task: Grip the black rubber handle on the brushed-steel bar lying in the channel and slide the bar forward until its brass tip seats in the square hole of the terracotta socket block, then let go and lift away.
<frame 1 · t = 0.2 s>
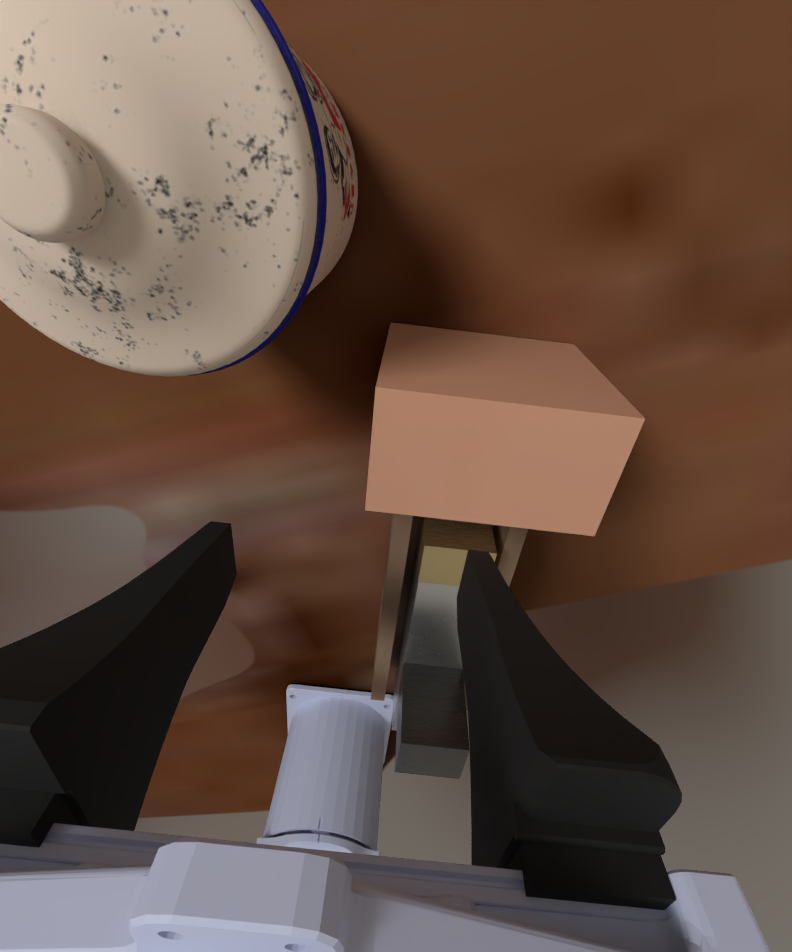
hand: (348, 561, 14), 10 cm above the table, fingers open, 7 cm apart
slide bar: (435, 664, 23), point 6 cm above the table, slide at 0.0 cm
teacup with lid: (217, 147, 17), on the table
socket block: (472, 382, 21), on the table
guide channel: (437, 557, 27), on the table
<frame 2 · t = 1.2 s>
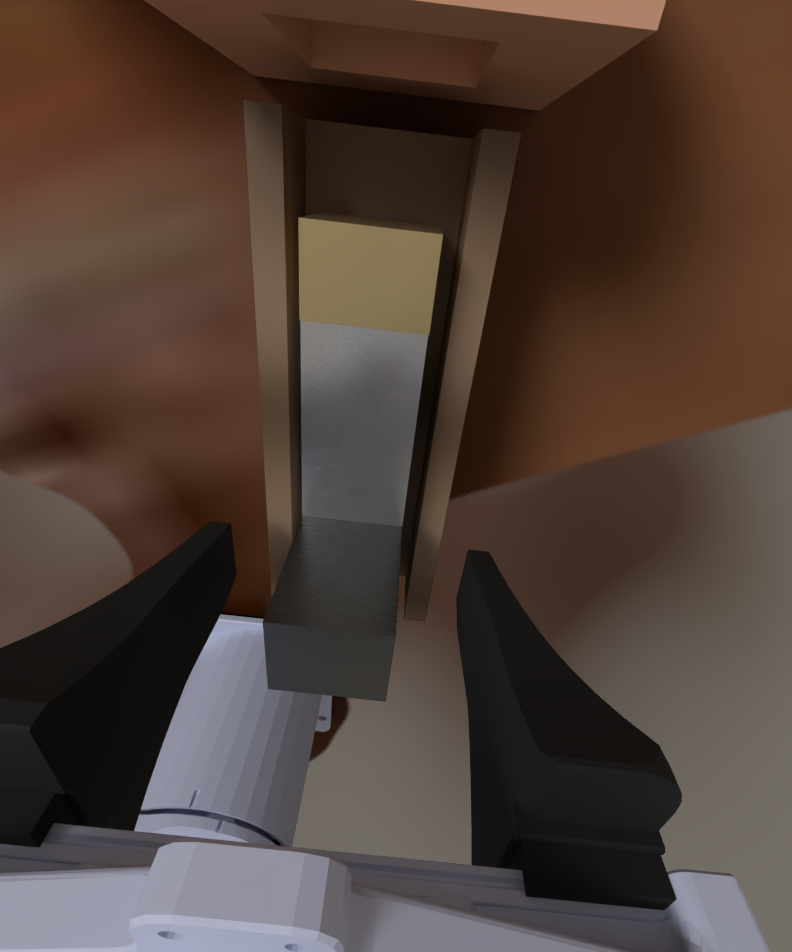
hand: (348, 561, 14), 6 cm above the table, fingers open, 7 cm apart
slide bar: (351, 509, 13), point 6 cm above the table, slide at 0.0 cm
guide channel: (374, 383, 17), on the table
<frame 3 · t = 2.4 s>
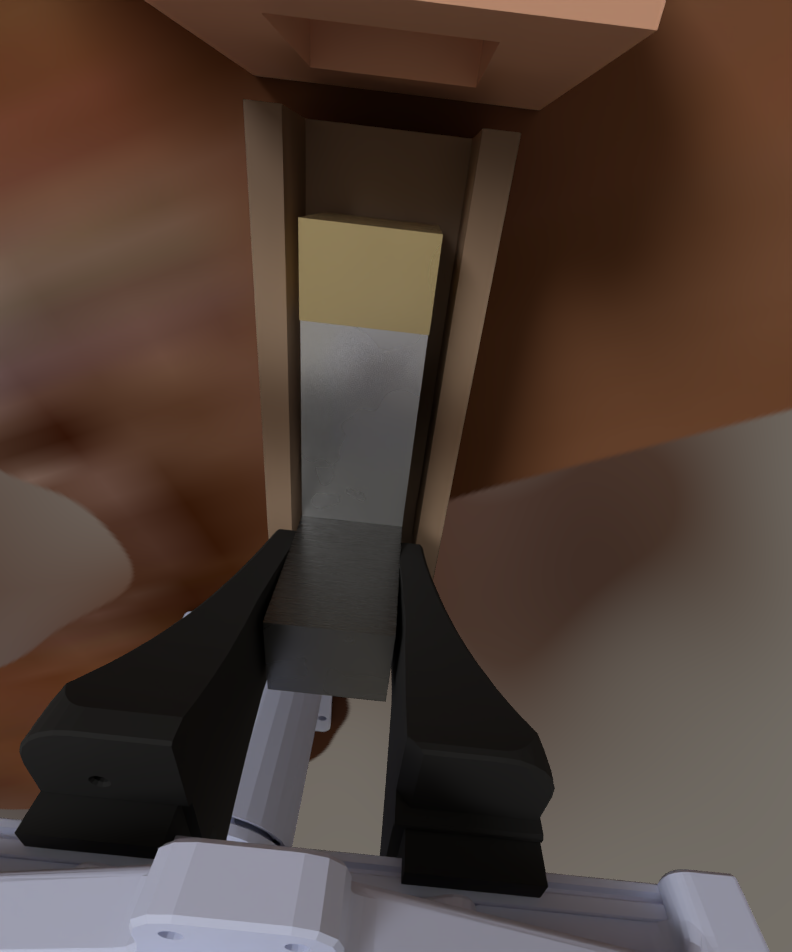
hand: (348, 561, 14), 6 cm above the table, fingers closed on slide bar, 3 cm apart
slide bar: (351, 509, 13), point 6 cm above the table, slide at 0.0 cm, touching gripper
guide channel: (374, 383, 17), on the table
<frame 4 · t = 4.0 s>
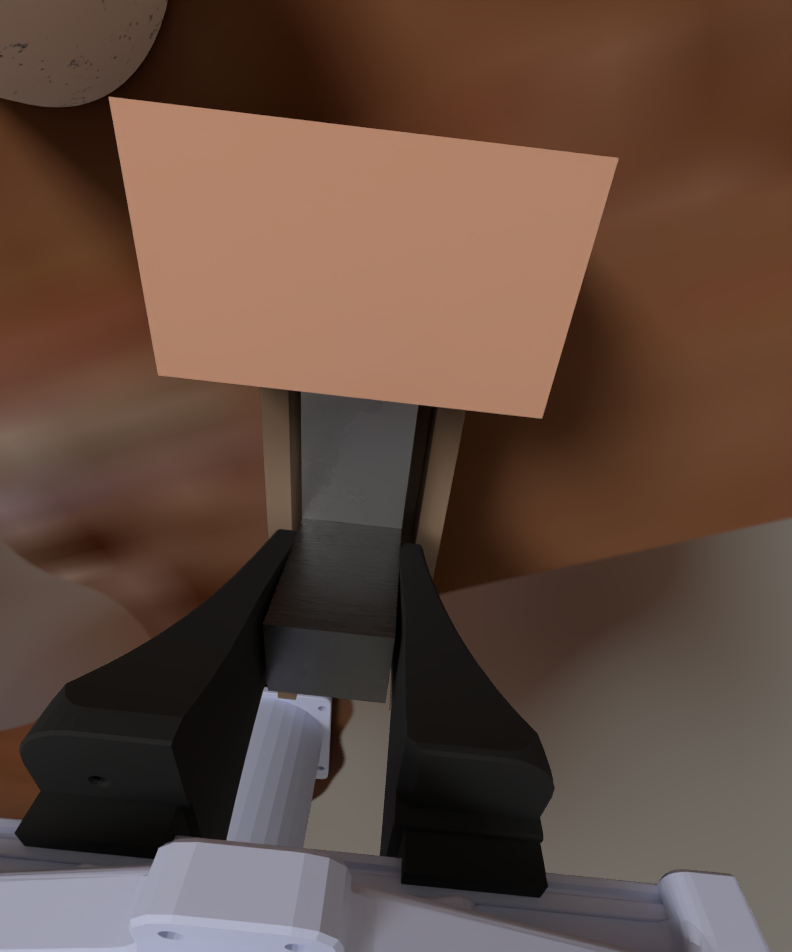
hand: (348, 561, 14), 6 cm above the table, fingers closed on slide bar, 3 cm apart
slide bar: (350, 512, 13), point 6 cm above the table, slide at 5.9 cm, touching gripper
socket block: (385, 242, 15), on the table
guide channel: (364, 510, 21), on the table
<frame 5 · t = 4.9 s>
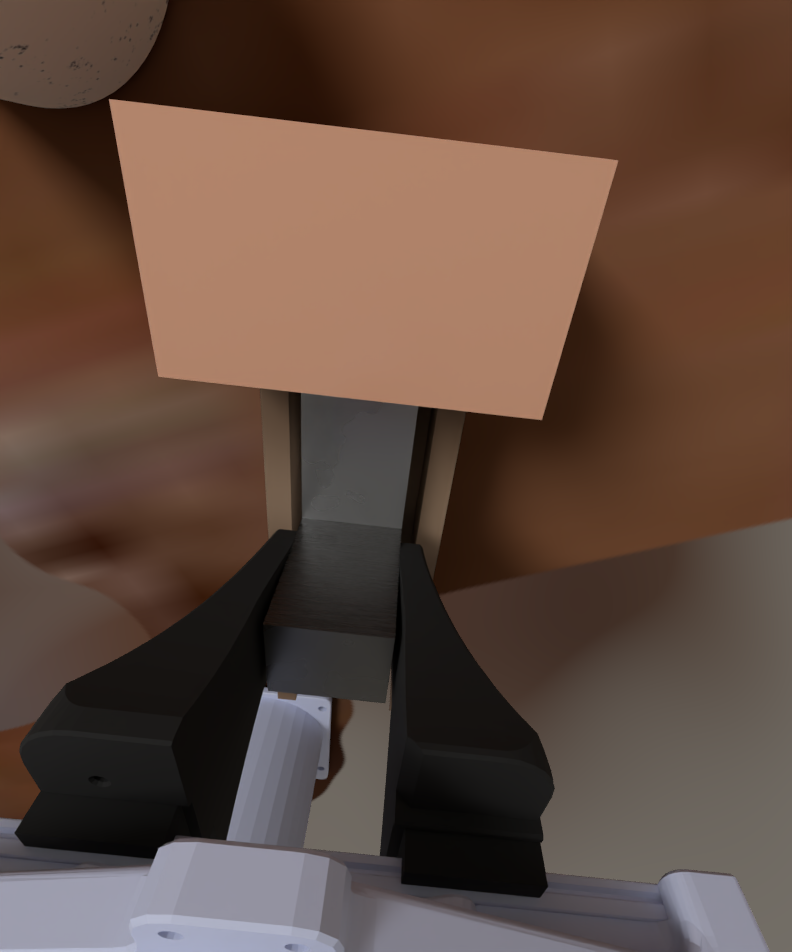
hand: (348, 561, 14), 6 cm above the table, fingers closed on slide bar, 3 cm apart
slide bar: (351, 512, 13), point 6 cm above the table, slide at 5.9 cm, touching gripper
socket block: (385, 243, 15), on the table
guide channel: (363, 511, 21), on the table
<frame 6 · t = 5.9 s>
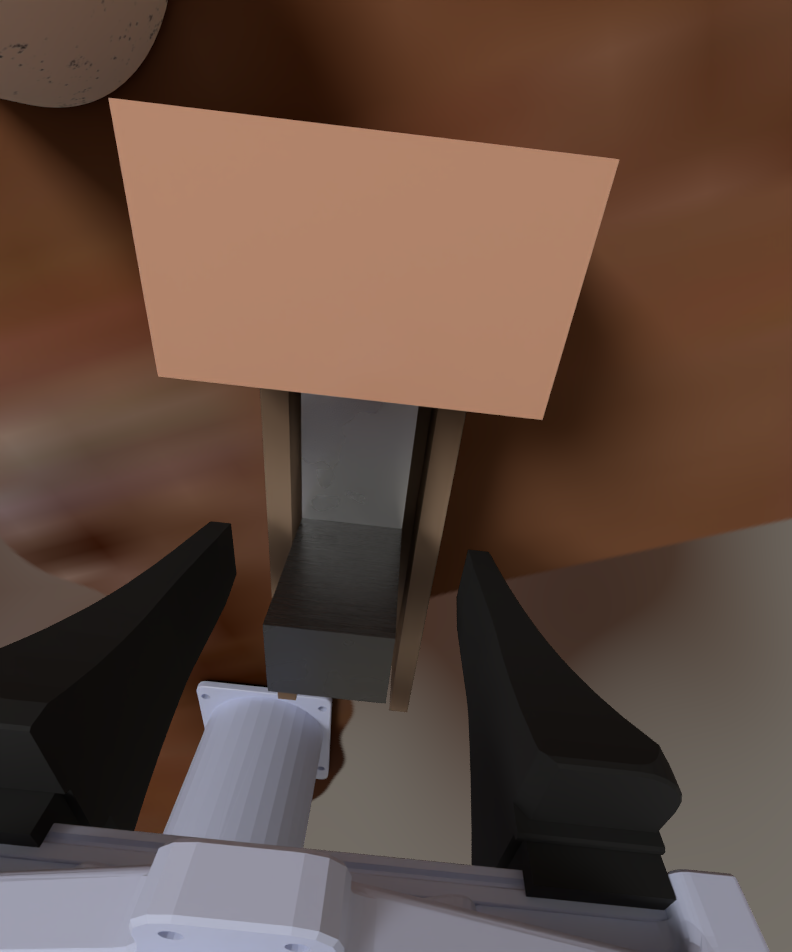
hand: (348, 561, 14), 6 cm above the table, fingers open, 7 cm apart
slide bar: (351, 512, 13), point 6 cm above the table, slide at 5.9 cm
socket block: (385, 242, 15), on the table
guide channel: (364, 511, 20), on the table
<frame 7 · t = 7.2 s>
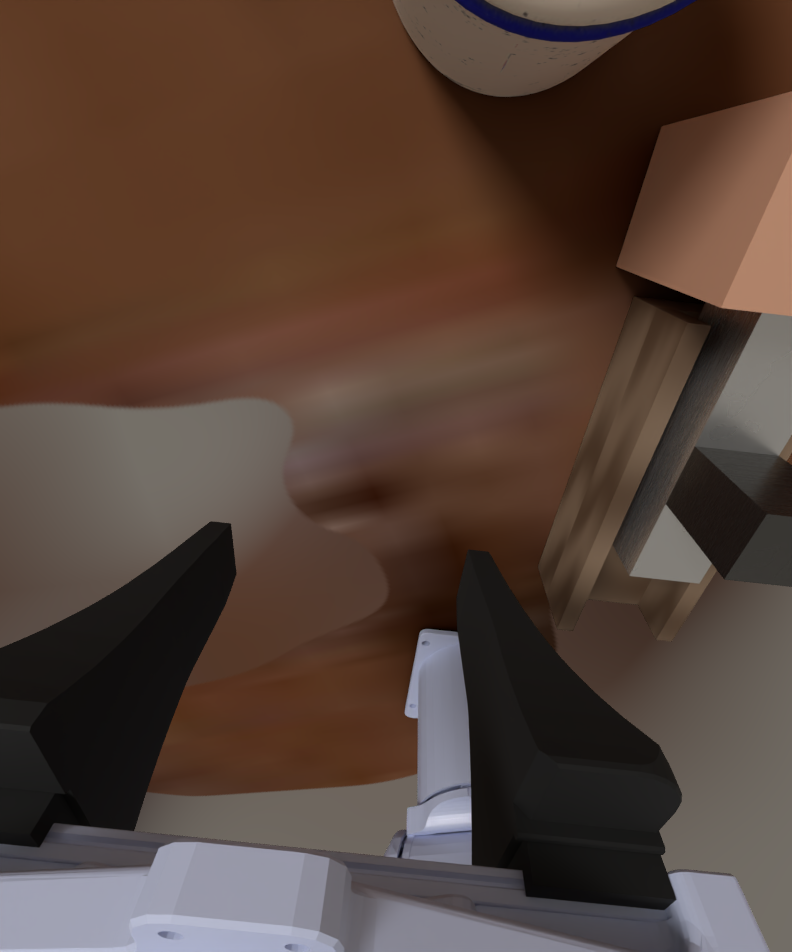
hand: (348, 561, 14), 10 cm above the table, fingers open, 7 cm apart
slide bar: (756, 437, 15), point 6 cm above the table, slide at 5.9 cm
socket block: (742, 214, 17), on the table
guide channel: (635, 461, 23), on the table
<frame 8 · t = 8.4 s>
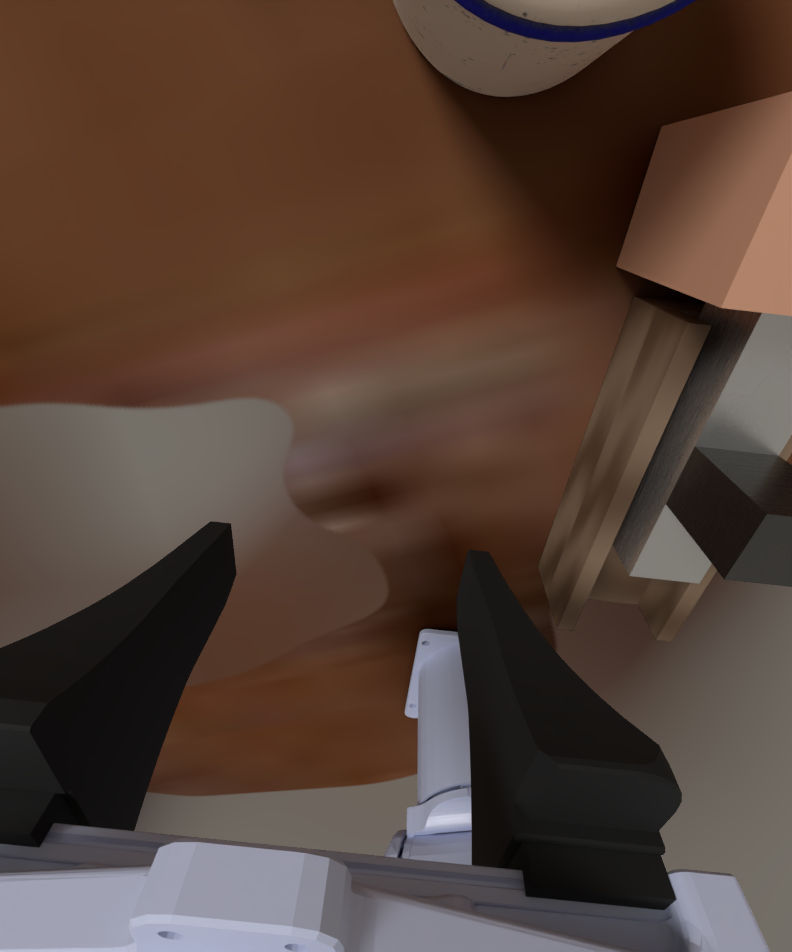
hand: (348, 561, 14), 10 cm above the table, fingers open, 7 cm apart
slide bar: (756, 437, 15), point 6 cm above the table, slide at 5.9 cm
socket block: (742, 214, 17), on the table
guide channel: (635, 461, 23), on the table
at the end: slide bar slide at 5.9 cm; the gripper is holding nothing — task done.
